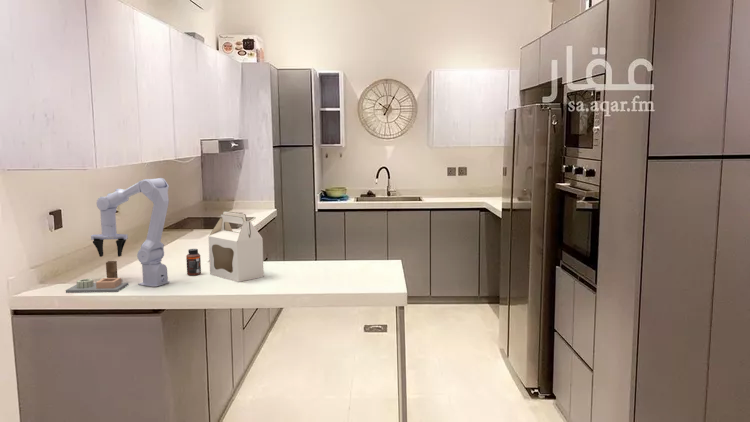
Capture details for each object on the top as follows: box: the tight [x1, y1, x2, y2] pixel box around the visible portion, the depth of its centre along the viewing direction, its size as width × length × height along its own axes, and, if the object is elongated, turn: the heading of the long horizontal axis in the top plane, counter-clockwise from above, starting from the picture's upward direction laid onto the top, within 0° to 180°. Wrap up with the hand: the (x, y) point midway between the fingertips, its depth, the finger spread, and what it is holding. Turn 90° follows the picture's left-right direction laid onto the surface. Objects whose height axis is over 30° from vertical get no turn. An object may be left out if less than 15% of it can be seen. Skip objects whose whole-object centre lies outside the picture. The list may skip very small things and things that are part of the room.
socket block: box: [65, 277, 129, 294], centre depth 229 cm, size 20×11×4 cm, turn 92°
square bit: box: [105, 260, 119, 278], centre depth 243 cm, size 3×3×8 cm
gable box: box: [208, 210, 265, 283], centre depth 249 cm, size 22×13×28 cm, turn 48°
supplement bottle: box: [185, 248, 202, 277], centre depth 253 cm, size 6×6×11 cm
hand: (110, 256), depth 242 cm, fingers open, 7 cm apart
